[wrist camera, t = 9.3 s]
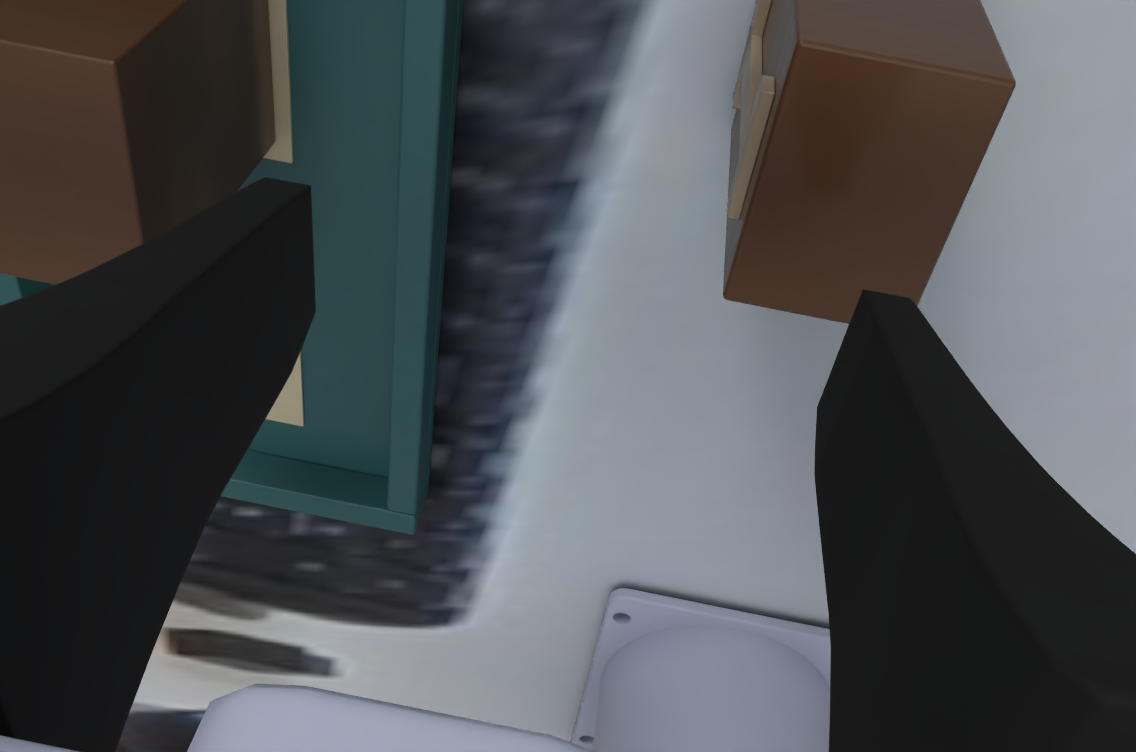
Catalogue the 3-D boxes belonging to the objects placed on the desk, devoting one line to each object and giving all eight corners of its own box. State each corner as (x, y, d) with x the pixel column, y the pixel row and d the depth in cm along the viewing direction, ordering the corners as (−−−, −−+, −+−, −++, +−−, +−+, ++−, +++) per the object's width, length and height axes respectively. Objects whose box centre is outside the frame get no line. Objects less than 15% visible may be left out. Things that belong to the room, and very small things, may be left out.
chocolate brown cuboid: (276, 141, 22) (152, 305, 18) (131, 113, 22) (-30, 269, 18) (265, -69, 20) (114, 62, 15) (99, -100, 20) (-102, 20, 15)
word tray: (429, 491, 30) (413, 535, 28) (67, 418, 30) (36, 459, 29) (478, -188, 18) (456, -165, 17) (-109, -298, 18) (-174, -284, 17)
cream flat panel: (304, 424, 28) (303, 426, 28) (166, 396, 28) (165, 399, 28) (283, -86, 19) (282, -84, 19) (85, -124, 19) (82, -122, 19)
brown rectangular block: (874, 159, 21) (905, 336, 17) (720, 129, 21) (709, 297, 17) (955, -61, 18) (1019, 82, 14) (778, -94, 19) (782, 37, 14)
